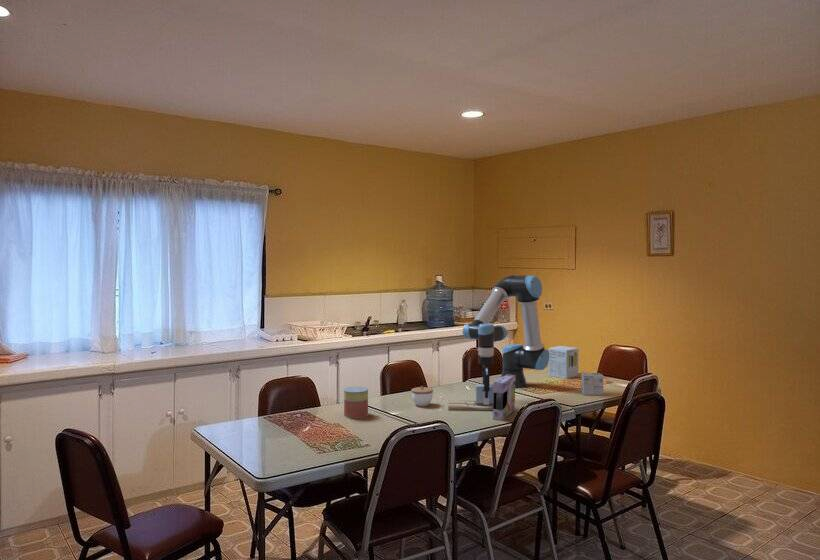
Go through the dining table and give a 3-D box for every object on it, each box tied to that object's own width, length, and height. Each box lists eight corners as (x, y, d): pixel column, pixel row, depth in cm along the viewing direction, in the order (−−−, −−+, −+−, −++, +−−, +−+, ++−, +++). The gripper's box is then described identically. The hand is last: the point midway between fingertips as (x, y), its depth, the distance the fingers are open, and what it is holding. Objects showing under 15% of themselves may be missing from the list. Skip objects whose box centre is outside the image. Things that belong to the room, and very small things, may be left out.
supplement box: (566, 379, 348) (566, 350, 347) (548, 375, 358) (548, 347, 357) (578, 376, 357) (579, 347, 356) (560, 372, 367) (560, 345, 366)
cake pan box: (501, 421, 259) (501, 382, 258) (491, 419, 261) (491, 381, 260) (515, 411, 275) (516, 374, 275) (505, 410, 278) (506, 373, 277)
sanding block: (475, 402, 286) (475, 384, 285) (494, 402, 285) (494, 384, 285) (476, 404, 281) (476, 386, 280) (494, 405, 280) (495, 386, 280)
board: (448, 403, 291) (448, 400, 291) (500, 404, 289) (500, 401, 289) (448, 410, 278) (448, 407, 278) (502, 411, 276) (502, 407, 276)
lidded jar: (426, 408, 281) (426, 389, 280) (407, 405, 286) (407, 387, 286) (436, 403, 290) (436, 385, 289) (418, 401, 295) (418, 383, 295)
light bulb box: (601, 392, 313) (601, 372, 312) (604, 395, 306) (604, 375, 306) (580, 392, 314) (580, 372, 313) (583, 395, 307) (583, 375, 307)
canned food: (373, 415, 270) (373, 389, 269) (353, 419, 262) (353, 393, 262) (358, 410, 278) (357, 385, 277) (339, 414, 270) (338, 389, 270)
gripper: (477, 352, 291) (477, 398, 292) (479, 358, 273) (479, 407, 274) (492, 352, 291) (492, 398, 292) (495, 358, 273) (495, 407, 274)
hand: (485, 402), depth 283 cm, fingers closed on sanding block, 5 cm apart
